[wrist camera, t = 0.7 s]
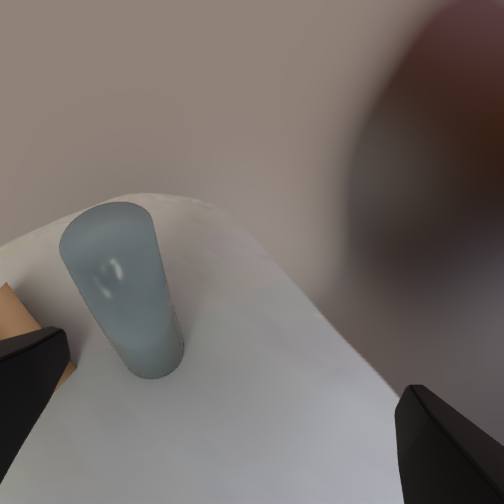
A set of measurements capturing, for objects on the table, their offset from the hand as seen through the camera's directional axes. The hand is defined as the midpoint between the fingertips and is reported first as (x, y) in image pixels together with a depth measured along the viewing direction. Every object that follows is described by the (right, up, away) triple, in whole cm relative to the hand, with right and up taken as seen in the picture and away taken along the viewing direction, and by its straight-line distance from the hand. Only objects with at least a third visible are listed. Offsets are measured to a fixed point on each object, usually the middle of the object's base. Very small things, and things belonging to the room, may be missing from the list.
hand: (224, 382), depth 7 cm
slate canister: (-7, -5, +17) cm, 19 cm away
